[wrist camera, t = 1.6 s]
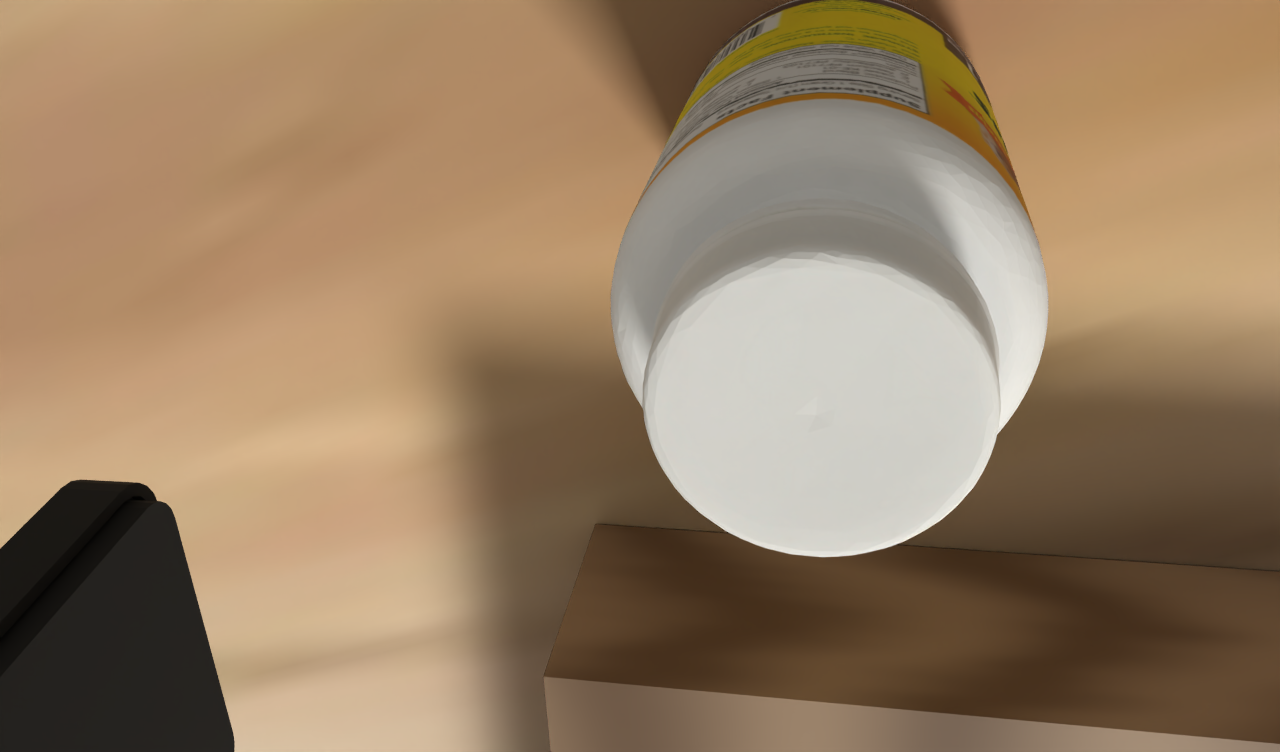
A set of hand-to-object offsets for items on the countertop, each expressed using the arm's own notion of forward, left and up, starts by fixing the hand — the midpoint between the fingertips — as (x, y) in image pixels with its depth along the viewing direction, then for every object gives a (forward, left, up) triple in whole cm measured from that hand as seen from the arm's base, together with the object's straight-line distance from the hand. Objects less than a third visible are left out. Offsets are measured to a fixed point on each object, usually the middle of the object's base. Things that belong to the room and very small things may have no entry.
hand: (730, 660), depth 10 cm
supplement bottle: (-1, 0, -15) cm, 15 cm away
